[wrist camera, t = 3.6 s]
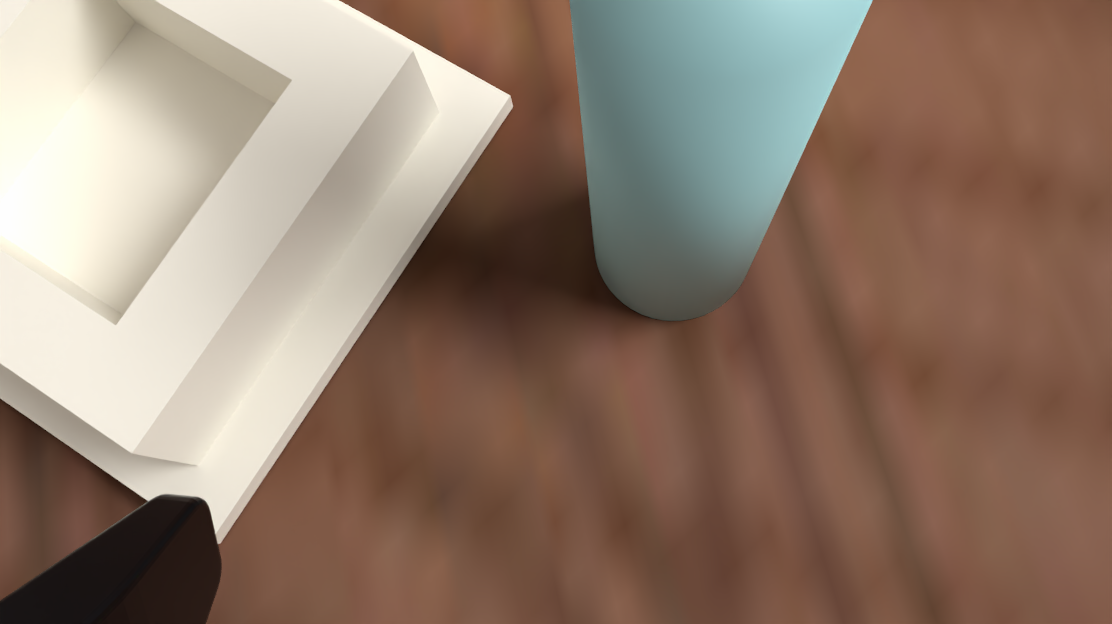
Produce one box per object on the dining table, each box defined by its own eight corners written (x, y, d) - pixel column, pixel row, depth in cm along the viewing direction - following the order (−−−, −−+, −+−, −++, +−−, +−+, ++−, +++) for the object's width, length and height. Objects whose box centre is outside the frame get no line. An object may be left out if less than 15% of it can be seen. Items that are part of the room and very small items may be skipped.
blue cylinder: (701, 350, 22) (790, 133, 10) (564, 270, 23) (502, -19, 11) (781, 218, 23) (949, -128, 11) (645, 143, 23) (668, -260, 12)
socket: (220, 543, 22) (143, 543, 18) (-172, 272, 24) (-308, 225, 20) (513, 106, 24) (493, 31, 20) (127, -109, 26) (48, -212, 22)
